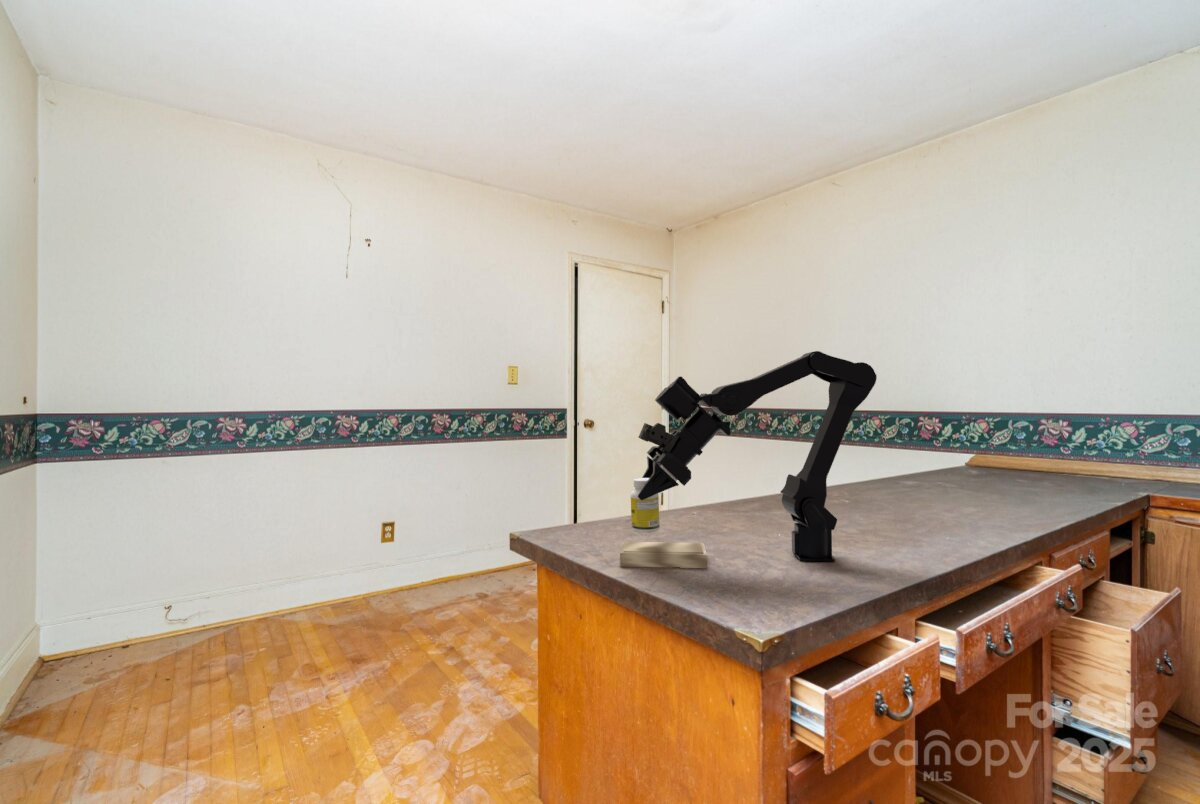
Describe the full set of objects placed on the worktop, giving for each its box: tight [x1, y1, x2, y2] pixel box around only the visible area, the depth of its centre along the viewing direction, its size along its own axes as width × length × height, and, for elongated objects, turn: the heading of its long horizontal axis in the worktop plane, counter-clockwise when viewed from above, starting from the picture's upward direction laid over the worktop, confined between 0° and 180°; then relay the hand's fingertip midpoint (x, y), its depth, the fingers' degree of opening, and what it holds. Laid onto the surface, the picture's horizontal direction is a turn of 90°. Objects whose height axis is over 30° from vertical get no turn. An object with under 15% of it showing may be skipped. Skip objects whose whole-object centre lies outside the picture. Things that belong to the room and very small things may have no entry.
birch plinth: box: [619, 541, 708, 569], centre depth 104 cm, size 16×8×3 cm, turn 83°
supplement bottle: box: [630, 477, 661, 534], centre depth 104 cm, size 5×5×10 cm
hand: (637, 495), depth 104 cm, fingers closed on supplement bottle, 5 cm apart
